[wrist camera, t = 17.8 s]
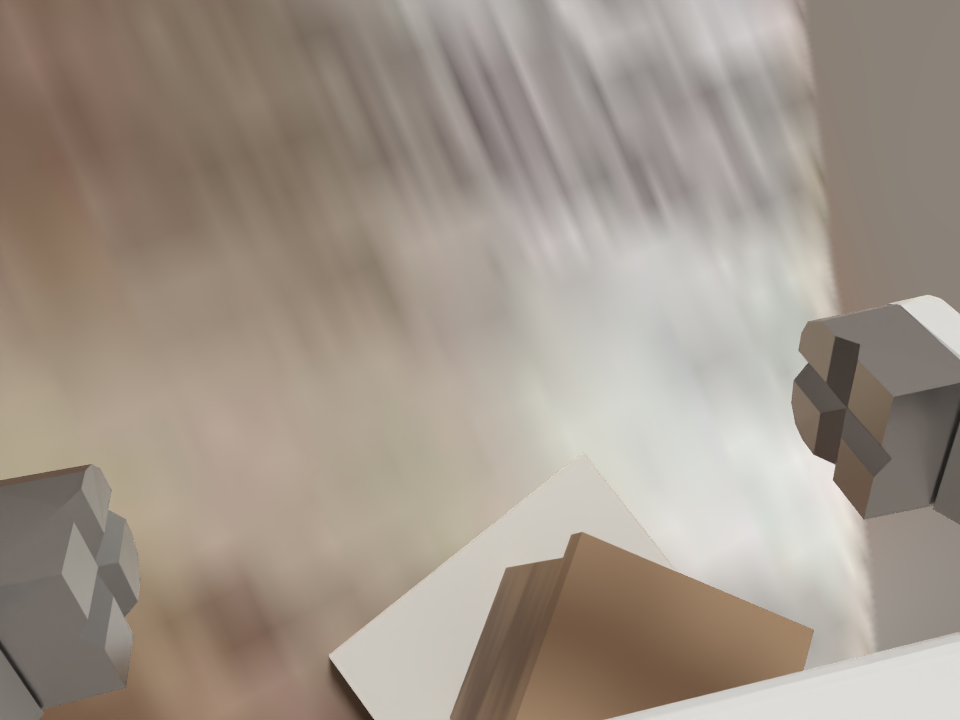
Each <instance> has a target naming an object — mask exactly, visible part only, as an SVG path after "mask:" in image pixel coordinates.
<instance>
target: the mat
mask: <svg viewBox="0 0 960 720" xmlns="http://www.w3.org/2000/svg"><path fill="white" fill-rule="evenodd" d="M580 532H584V533H586V534H588V535H591V536H593V537H596V538H598V539H600V540H603V541H605V542H607V543H610V544H612V545H614V546H617V547H619V548H622V549H624V550H626V551H629V552H631V553H633V554H636V555H638V556H640V557H643V558H645V559H648V560H650V561H652V562H655V563H657V564H659V565H662V566H664V567H666V568H669V569H671V570H674V571H676V572H677V570H676V569H675V568H674V567H673V565H672V564H671V563H670V562H669V560H668V559H667V558H666V556H665V555H664V554H663V553H662V551H661V550H660V549H659V548H658V546H657V545H656V544H655V542H654V541H653V540H652V539H651V537H650V536H649V535H648V534H647V532H646V531H645V530H644V528H643V527H642V526H641V525H640V523H639V522H638V521H637V520H636V518H635V517H634V516H633V514H632V513H631V512H630V511H629V509H628V508H627V507H626V506H625V504H624V503H623V502H622V500H621V499H620V498H619V497H618V495H617V494H616V493H615V491H614V490H613V489H612V488H611V486H610V485H609V484H608V483H607V481H606V480H605V479H604V477H603V476H602V475H601V474H600V472H599V471H598V470H597V469H596V467H595V466H594V465H593V463H592V462H591V461H590V460H589V458H588V457H587V456H586V455H585V453H582V454H580V455H579V456H577V457H576V458H575V459H573V460H572V461H571V462H570V463H568V464H567V465H566V466H565V467H563V468H562V469H561V470H560V471H558V472H557V473H556V474H555V475H553V476H552V477H551V478H550V479H548V480H547V481H546V482H545V483H543V484H542V485H541V486H540V487H538V488H537V489H536V490H534V491H533V492H532V493H531V494H529V495H528V496H527V497H526V498H524V499H523V500H522V501H521V502H519V503H518V504H517V505H516V506H514V507H513V508H512V509H511V510H509V511H508V512H507V513H506V514H504V515H503V516H502V517H501V518H499V519H498V520H497V521H496V522H494V523H493V524H492V525H491V526H489V527H488V528H487V529H486V530H484V531H483V532H482V533H481V534H479V535H478V536H477V537H476V538H474V539H473V540H472V541H471V542H469V543H468V544H467V545H466V546H464V547H463V548H462V549H461V550H459V551H458V552H457V553H456V554H454V555H453V556H452V557H451V558H449V559H448V560H447V561H446V562H444V563H443V564H442V565H441V566H439V567H438V568H437V569H436V570H434V571H433V572H432V573H431V574H429V575H428V576H427V577H426V578H424V579H423V580H422V581H421V582H419V583H418V584H417V585H416V586H414V587H413V588H412V589H411V590H409V591H408V592H407V593H406V594H404V595H403V596H402V597H401V598H399V599H398V600H397V601H396V602H394V603H393V604H392V605H390V606H389V607H388V608H387V609H385V610H384V611H383V612H382V613H380V614H379V615H378V616H377V617H375V618H374V619H373V620H372V621H370V622H369V623H368V624H367V625H365V626H364V627H363V628H362V629H360V630H359V631H358V632H357V633H355V634H354V635H353V636H352V637H350V638H349V639H348V640H347V641H345V642H344V643H343V644H342V645H340V646H339V647H338V648H337V649H335V650H334V651H333V652H332V653H330V654H329V657H330V659H331V660H332V662H333V663H334V664H335V666H336V667H337V669H338V670H339V671H340V673H341V674H342V676H343V677H344V678H345V680H346V681H347V682H348V684H349V685H350V687H351V688H352V689H353V691H354V692H355V694H356V695H357V696H358V698H359V699H360V701H361V702H362V703H363V705H364V706H365V707H366V709H367V710H368V712H369V713H370V714H371V716H372V717H373V719H374V720H451V719H450V715H451V713H452V710H453V707H454V705H455V702H456V699H457V697H458V694H459V691H460V689H461V686H462V683H463V681H464V678H465V675H466V673H467V670H468V667H469V665H470V662H471V659H472V657H473V654H474V651H475V649H476V646H477V643H478V641H479V638H480V635H481V633H482V630H483V628H484V625H485V622H486V620H487V617H488V614H489V612H490V609H491V606H492V604H493V601H494V598H495V596H496V593H497V590H498V588H499V585H500V582H501V580H502V577H503V574H504V572H505V569H506V568H507V567H513V566H518V565H524V564H530V563H535V562H541V561H547V560H552V559H558V558H563V556H564V553H565V550H566V548H567V545H568V542H569V539H570V536H571V535H572V534H576V533H580Z"/></svg>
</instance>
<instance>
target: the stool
mask: <svg viewBox="0 0 960 720" xmlns="http://www.w3.org/2000/svg"><path fill="white" fill-rule="evenodd" d="M813 632H814V630H813V629H810V628H808V627H806V626H803V625H801V624H799V623H796V622H794V621H792V620H789V619H787V618H785V617H782V616H780V615H777V614H775V613H773V612H770V611H768V610H766V609H763V608H761V607H759V606H756V605H754V604H751V603H749V602H747V601H744V600H742V599H740V598H737V597H735V596H733V595H730V594H728V593H725V592H723V591H721V590H718V589H716V588H714V587H711V586H709V585H707V584H704V583H702V582H699V581H697V580H695V579H692V578H690V577H688V576H685V575H683V574H681V573H678V572H676V571H674V570H671V569H669V568H666V567H664V566H662V565H659V564H657V563H655V562H652V561H650V560H648V559H645V558H643V557H640V556H638V555H636V554H633V553H631V552H629V551H626V550H624V549H622V548H619V547H617V546H614V545H612V544H610V543H607V542H605V541H603V540H600V539H598V538H596V537H593V536H591V535H588V534H586V533H584V532H580V533H576V534H572V535H571V536H570V539H569V542H568V545H567V548H566V550H565V553H564V556H563V558H558V559H552V560H547V561H541V562H535V563H530V564H524V565H518V566H513V567H507V568H506V569H505V572H504V574H503V577H502V580H501V582H500V585H499V588H498V590H497V593H496V596H495V598H494V601H493V604H492V606H491V609H490V612H489V614H488V617H487V620H486V622H485V625H484V628H483V630H482V633H481V635H480V638H479V641H478V643H477V646H476V649H475V651H474V654H473V657H472V659H471V662H470V665H469V667H468V670H467V673H466V675H465V678H464V681H463V683H462V686H461V689H460V691H459V694H458V697H457V699H456V702H455V705H454V707H453V710H452V713H451V715H450V719H451V720H605V719H610V718H614V717H618V716H622V715H626V714H630V713H634V712H638V711H642V710H646V709H650V708H654V707H658V706H662V705H666V704H670V703H674V702H679V701H683V700H687V699H691V698H695V697H699V696H703V695H707V694H711V693H715V692H719V691H723V690H727V689H731V688H735V687H739V686H743V685H747V684H751V683H755V682H759V681H763V680H767V679H772V678H776V677H780V676H784V675H788V674H792V673H796V672H800V671H803V670H804V666H805V662H806V658H807V654H808V651H809V647H810V643H811V639H812V635H813Z"/></svg>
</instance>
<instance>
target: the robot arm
mask: <svg viewBox="0 0 960 720" xmlns="http://www.w3.org/2000/svg"><path fill="white" fill-rule="evenodd" d="M799 352H800V353H801V354H802V355H803V357H804V358H805V359H806V361H807V362H808V364H807V365H806V366H805V367H804V369H803V370H802V371H801V372H800V374H799V375H798V376H797V377H796V378H795V380H794V383H793V392H792V401H791V403H792V409H793V414H794V419H795V424H796V426H797V429H798V431H799V433H800V435H801V437H802V439H803V441H804V442H805V444H806V445H807V446H808V448H809V449H810V450H811V452H812V453H813V454H814V455H816V456H818V457H820V458H823V459H825V460H827V461H829V462H831V463H833V464H835V470H834V477H833V481H834V482H835V483H836V484H837V486H838V487H839V488H840V490H841V491H842V492H843V493H844V495H845V496H846V497H847V498H848V500H849V501H850V502H851V504H852V505H853V506H854V507H855V509H856V510H857V511H858V513H859V514H860V515H861V516H862V518H863V519H868V518H873V517H878V516H883V515H888V514H894V513H899V512H904V511H909V510H914V509H919V508H924V507H928V506H934V507H933V509H934V510H935V511H937V512H939V513H941V514H942V515H944V516H946V517H948V518H949V519H951V520H953V521H955V522H956V523H958V524H960V314H959V313H958V312H956V311H955V310H954V309H953V308H952V307H950V306H949V305H948V304H947V303H946V302H944V301H943V300H942V299H940V298H937V297H934V296H930V295H926V296H921V297H916V298H912V299H907V300H903V301H899V302H894V303H890V304H888V305H886V306H881V307H876V308H872V309H867V310H862V311H857V312H852V313H847V314H842V315H837V316H832V317H828V318H823V319H818V320H813V321H808V323H807V324H806V326H805V328H804V329H803V331H802V333H801V339H800V345H799ZM111 492H112V490H111V488H110V486H109V484H108V482H107V480H106V478H105V476H104V474H103V472H102V471H101V469H100V468H99V467H96V466H94V465H92V464H90V465H84V466H79V467H73V468H67V469H62V470H56V471H50V472H45V473H39V474H34V475H28V476H22V477H17V478H11V479H6V480H0V720H39V719H40V718H41V717H42V715H43V711H42V709H46V708H49V707H53V706H57V705H61V704H65V703H69V702H73V701H77V700H81V699H85V698H89V697H92V696H96V695H100V694H104V693H108V692H112V691H116V690H120V689H124V688H126V684H127V677H128V670H129V663H130V656H131V648H132V641H133V634H132V632H131V630H130V628H129V626H128V624H127V622H126V620H125V618H124V617H125V616H126V615H127V614H128V613H129V611H130V610H131V609H132V608H133V607H134V605H135V604H136V603H137V602H138V595H139V586H140V572H139V560H138V552H137V549H136V545H135V542H134V538H133V535H132V533H131V530H130V528H129V526H128V524H127V521H126V519H124V518H123V517H121V516H119V515H117V514H115V513H113V512H111V511H110V510H108V509H109V503H110V498H111ZM605 720H960V632H957V633H953V634H949V635H945V636H941V637H937V638H933V639H929V640H925V641H921V642H917V643H913V644H909V645H905V646H901V647H897V648H893V649H888V650H884V651H880V652H876V653H872V654H868V655H864V656H860V657H856V658H852V659H848V660H844V661H840V662H836V663H832V664H828V665H824V666H820V667H816V668H812V669H808V670H804V671H800V672H796V673H792V674H788V675H784V676H780V677H776V678H772V679H767V680H763V681H759V682H755V683H751V684H747V685H743V686H739V687H735V688H731V689H727V690H723V691H719V692H715V693H711V694H707V695H703V696H699V697H695V698H691V699H687V700H683V701H679V702H674V703H670V704H666V705H662V706H658V707H654V708H650V709H646V710H642V711H638V712H634V713H630V714H626V715H622V716H618V717H614V718H610V719H605Z"/></svg>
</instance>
